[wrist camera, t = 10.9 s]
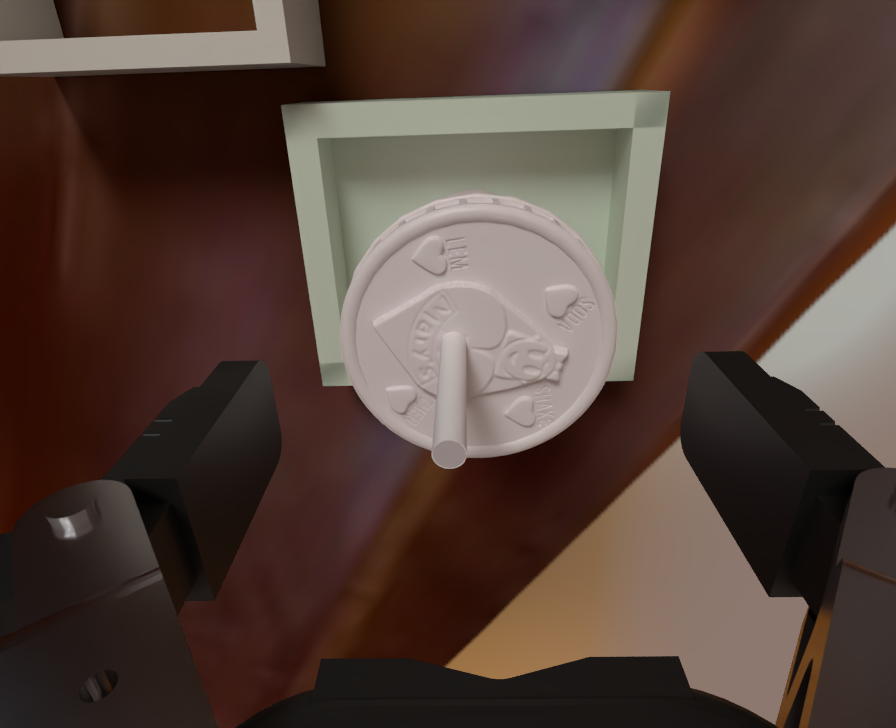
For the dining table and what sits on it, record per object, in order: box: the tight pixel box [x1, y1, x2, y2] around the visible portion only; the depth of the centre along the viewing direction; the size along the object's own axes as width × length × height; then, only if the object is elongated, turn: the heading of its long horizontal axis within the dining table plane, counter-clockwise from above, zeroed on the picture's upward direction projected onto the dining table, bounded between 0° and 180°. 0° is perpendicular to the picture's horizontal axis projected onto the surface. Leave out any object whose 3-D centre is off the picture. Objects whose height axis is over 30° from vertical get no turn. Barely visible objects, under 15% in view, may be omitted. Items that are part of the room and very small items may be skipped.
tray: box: [281, 90, 670, 386], centre depth 21 cm, size 12×10×3 cm
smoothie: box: [340, 189, 618, 469], centre depth 15 cm, size 6×6×14 cm
